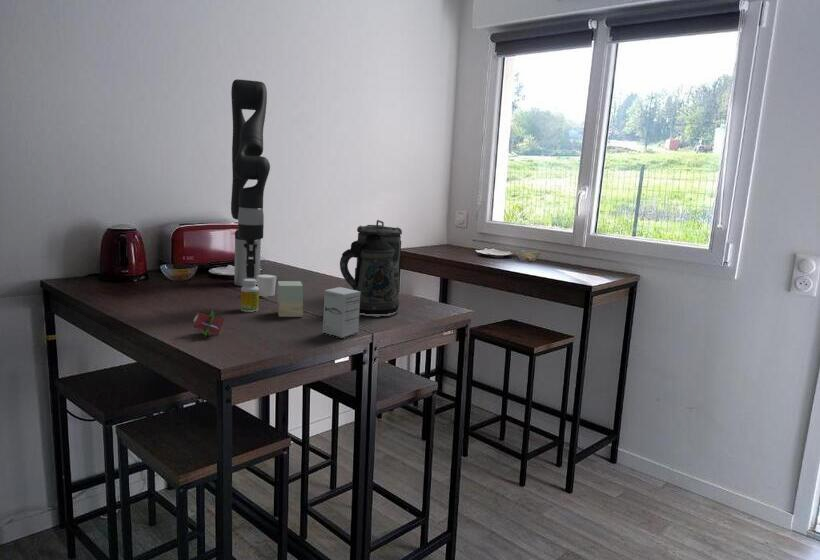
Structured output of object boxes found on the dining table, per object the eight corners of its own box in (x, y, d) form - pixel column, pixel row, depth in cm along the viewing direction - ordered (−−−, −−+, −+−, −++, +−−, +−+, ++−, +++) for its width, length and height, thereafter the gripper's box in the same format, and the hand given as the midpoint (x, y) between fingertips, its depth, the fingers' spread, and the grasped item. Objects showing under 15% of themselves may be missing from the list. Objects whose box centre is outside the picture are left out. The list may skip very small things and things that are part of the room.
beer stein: (408, 312, 200) (413, 236, 196) (372, 322, 185) (376, 240, 180) (369, 303, 209) (372, 231, 205) (331, 312, 194) (334, 234, 189)
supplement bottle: (253, 313, 186) (254, 282, 184) (237, 311, 187) (237, 280, 185) (261, 309, 191) (261, 279, 190) (245, 307, 192) (245, 277, 190)
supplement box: (321, 334, 168) (323, 289, 166) (339, 329, 175) (340, 286, 172) (342, 339, 164) (344, 294, 162) (359, 334, 171) (361, 290, 168)
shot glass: (251, 296, 208) (252, 276, 207) (262, 292, 215) (263, 273, 214) (269, 298, 206) (269, 278, 205) (279, 295, 213) (280, 275, 212)
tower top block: (277, 296, 188) (277, 281, 187) (300, 296, 190) (300, 281, 189) (278, 302, 182) (279, 285, 181) (302, 302, 184) (302, 285, 183)
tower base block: (277, 312, 189) (277, 296, 188) (300, 312, 191) (300, 296, 190) (278, 318, 183) (279, 302, 182) (302, 318, 185) (302, 302, 184)
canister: (348, 294, 221) (352, 217, 216) (389, 293, 227) (393, 219, 221) (360, 304, 206) (365, 222, 201) (404, 303, 212) (409, 223, 207)
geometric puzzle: (226, 322, 166) (208, 300, 162) (232, 329, 160) (213, 306, 156) (204, 339, 164) (185, 317, 160) (209, 346, 158) (190, 324, 154)
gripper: (264, 225, 178) (263, 279, 181) (262, 221, 192) (261, 271, 195) (238, 224, 176) (237, 279, 179) (237, 220, 190) (237, 271, 193)
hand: (250, 275), depth 187 cm, fingers open, 8 cm apart
